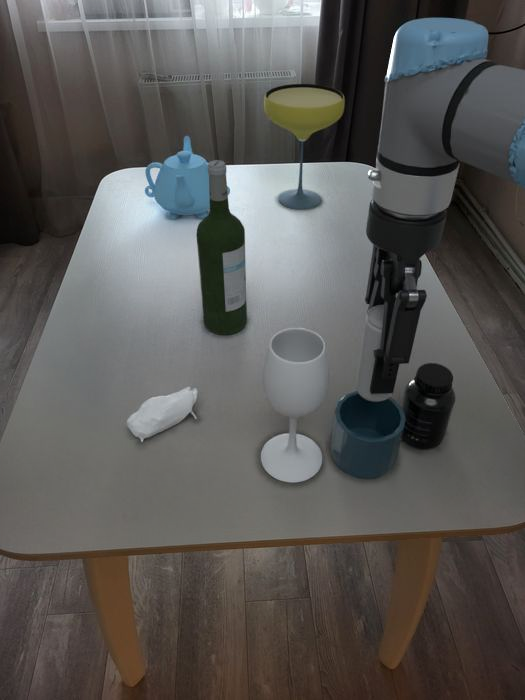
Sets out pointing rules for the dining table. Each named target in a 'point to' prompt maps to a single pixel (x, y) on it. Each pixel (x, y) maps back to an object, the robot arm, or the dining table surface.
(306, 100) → the cocktail glass
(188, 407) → the white oblong lump
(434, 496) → the dining table surface
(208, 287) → the wine bottle
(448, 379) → the supplement bottle
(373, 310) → the beverage can
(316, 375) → the wineglass
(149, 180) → the teapot
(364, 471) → the cup
